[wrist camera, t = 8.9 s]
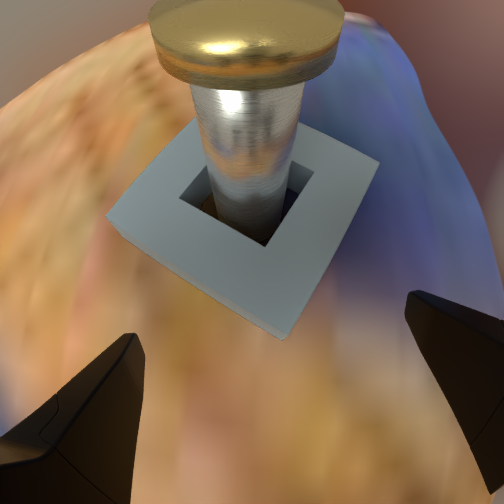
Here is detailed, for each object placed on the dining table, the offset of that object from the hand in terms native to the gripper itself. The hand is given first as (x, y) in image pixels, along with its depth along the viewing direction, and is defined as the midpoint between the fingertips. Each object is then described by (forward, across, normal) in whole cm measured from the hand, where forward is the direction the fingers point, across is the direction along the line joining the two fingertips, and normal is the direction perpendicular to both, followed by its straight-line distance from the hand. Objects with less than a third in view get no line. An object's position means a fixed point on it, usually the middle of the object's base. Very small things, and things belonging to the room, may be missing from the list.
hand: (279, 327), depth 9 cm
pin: (+12, 0, 0) cm, 12 cm away
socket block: (+12, 0, 0) cm, 12 cm away
